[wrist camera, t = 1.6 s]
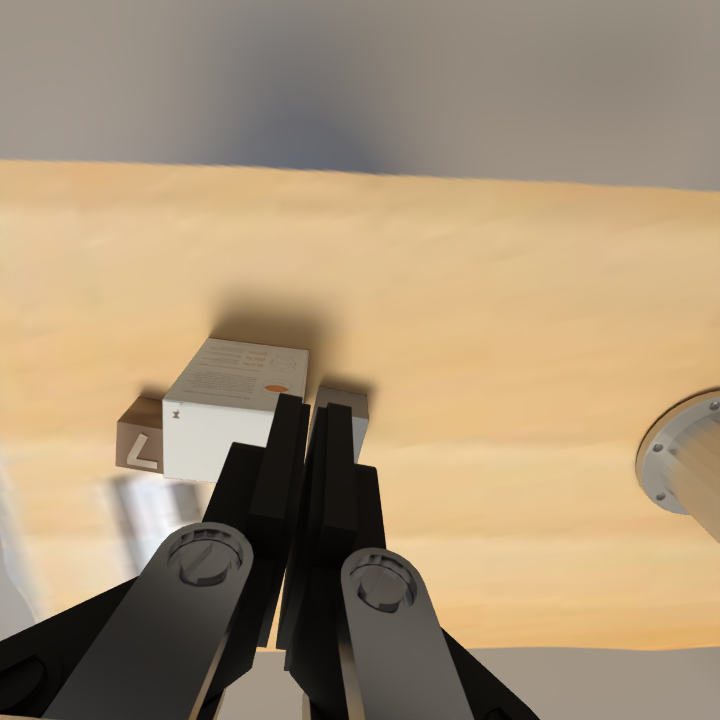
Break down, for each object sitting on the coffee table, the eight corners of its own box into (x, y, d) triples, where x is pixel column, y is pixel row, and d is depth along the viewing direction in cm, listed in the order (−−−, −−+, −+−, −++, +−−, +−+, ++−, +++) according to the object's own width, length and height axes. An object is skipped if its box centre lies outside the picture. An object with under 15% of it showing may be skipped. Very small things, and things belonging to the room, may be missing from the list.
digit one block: (366, 395, 38) (369, 420, 35) (355, 435, 40) (357, 464, 36) (318, 385, 38) (316, 410, 34) (309, 427, 39) (306, 455, 36)
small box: (205, 399, 38) (158, 480, 28) (207, 335, 36) (157, 399, 26) (303, 410, 39) (290, 493, 29) (311, 348, 36) (300, 415, 27)
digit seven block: (189, 405, 38) (172, 432, 34) (185, 445, 40) (168, 476, 36) (139, 396, 38) (116, 422, 34) (136, 437, 39) (114, 467, 35)
